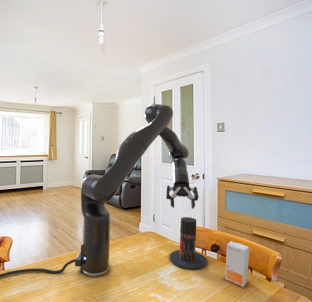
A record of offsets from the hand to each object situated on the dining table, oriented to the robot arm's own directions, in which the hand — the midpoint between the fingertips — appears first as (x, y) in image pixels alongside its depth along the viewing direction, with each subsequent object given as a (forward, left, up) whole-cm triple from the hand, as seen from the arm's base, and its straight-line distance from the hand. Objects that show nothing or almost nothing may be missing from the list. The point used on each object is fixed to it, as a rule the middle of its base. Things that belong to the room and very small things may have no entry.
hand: (183, 207), depth 98 cm
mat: (+1, -11, -18) cm, 21 cm away
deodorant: (+1, -11, -17) cm, 20 cm away
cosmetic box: (+15, -23, -18) cm, 33 cm away
